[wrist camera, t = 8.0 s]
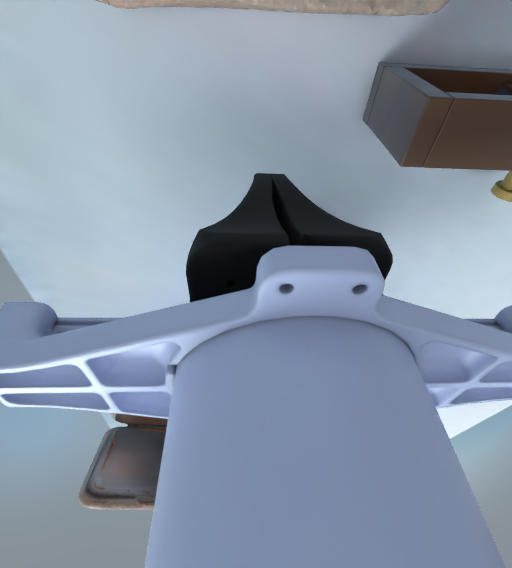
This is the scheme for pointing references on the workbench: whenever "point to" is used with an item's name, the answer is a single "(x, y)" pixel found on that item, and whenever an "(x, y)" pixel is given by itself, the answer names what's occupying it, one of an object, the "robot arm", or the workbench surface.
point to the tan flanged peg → (504, 188)
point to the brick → (300, 5)
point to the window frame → (443, 115)
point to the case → (126, 465)
